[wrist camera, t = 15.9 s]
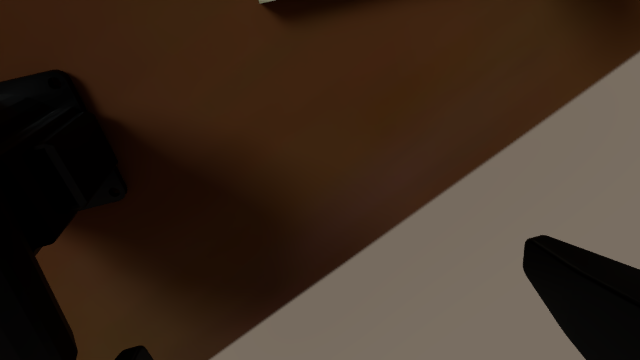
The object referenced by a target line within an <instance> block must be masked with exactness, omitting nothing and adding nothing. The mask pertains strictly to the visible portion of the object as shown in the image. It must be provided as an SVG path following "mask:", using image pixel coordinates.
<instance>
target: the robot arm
mask: <svg viewBox="0 0 640 360" xmlns="http://www.w3.org/2000/svg"><path fill="white" fill-rule="evenodd" d="M53 77H55V78H57V79H59V81H60V82H61V87H57V86H55V85H54V83H53V81H52V78H53ZM117 163H118V160H117V158H116V156H115V154H114V152H113V150H112V148H111V146H110V145H109V143H108V141H107V139H106V137H105V135H104V133H103V131H102V129H101V127H100V125H99V123H98V121H97V119H96V117H95V116H94V115H93V114H92V113H90V112H88V111H87V109H86V107H85V105H84V104H83V102H82V100H81V98H80V96H79V94H78V92H77V90H76V88H75V86H74V84H73V83H72V81H71V79H70V77H69V76H68V75H67V74H66V73H64V72H63V71H60V70H50V71H45V72H41V73H37V74H32V75H28V76H24V77H20V78H15V79H11V80H7V81H2V82H0V360H76V357H77V353H78V351H77V347H76V343H75V339H74V335H73V332H72V330H71V328H70V326H69V324H68V322H67V320H66V318H65V316H64V314H63V312H62V310H61V308H60V306H59V304H58V302H57V300H56V298H55V296H54V294H53V292H52V290H51V288H50V286H49V284H48V282H47V280H46V277H45V275H44V273H43V271H42V269H41V267H40V265H39V263H38V261H37V259H36V257H35V256H36V254H37V253H38V252H39V251H40V249H41V248H42V247H43V246H47V245H50V244H52V243H54V242H55V241H56V240H57V238H58V237H59V236H60V235H61V233H62V232H63V231H64V229H65V228H66V227H67V225H68V224H69V223H70V222H71V220H72V219H73V218H74V216H75V215H76V214H77V212H78V211H80V210H84V209H88V208H92V207H96V206H100V205H104V204H108V203H112V202H116V201H119V200H121V199H123V198H124V197H125V195H126V193H127V190H128V189H127V186H126V184H125V182H124V180H123V178H122V176H121V174H120V172H119V170H118V168H117V167H116V165H117ZM111 188H116V189H118V190H119V191H120V193H115V192H113V191H112V189H111ZM523 269H524V272H525V274H526V276H527V277H528V279H529V281H530V282H531V283H532V285H533V287H534V288H535V290H536V291H537V293H538V294H539V296H540V297H541V299H542V300H543V302H544V303H545V305H546V306H547V308H548V309H549V311H550V312H551V314H552V315H553V317H554V318H555V320H556V321H557V323H558V324H559V326H560V327H561V329H562V330H563V331H564V333H565V334H566V335H567V337H568V338H569V339H570V341H571V342H572V343H573V344H574V345H575V347H576V348H577V349H578V350H579V352H580V353H581V354H582V355H583V357H584V358H585V359H586V360H640V269H637V268H634V267H631V266H629V265H626V264H623V263H620V262H618V261H614V260H612V259H609V258H607V257H604V256H601V255H598V254H596V253H593V252H590V251H588V250H585V249H582V248H579V247H577V246H574V245H571V244H568V243H565V242H563V241H560V240H557V239H555V238H552V237H549V236H546V235H540V236H537V237H533V238H529V239H527V241H526V242H525V247H524V258H523ZM115 360H153V358H152V357H151V355H150V354H149V352H148V351H147V349H146V348H145V347H144V346H136V347H132V348H128V349H125V350H123V351H122V352H121V353H120V354H119V355H118V356H117V357H116V359H115Z"/></svg>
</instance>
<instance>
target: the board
mask: <svg viewBox="0 0 640 360" xmlns="http://www.w3.org/2000/svg"><path fill="white" fill-rule="evenodd" d="M269 1H274V0H259V3H260V4H261V3H265V2H269Z"/></svg>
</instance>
